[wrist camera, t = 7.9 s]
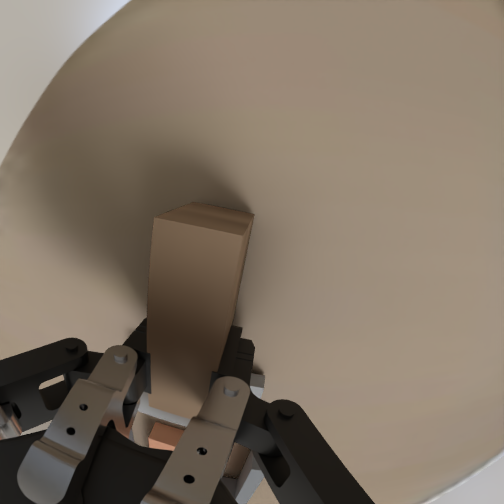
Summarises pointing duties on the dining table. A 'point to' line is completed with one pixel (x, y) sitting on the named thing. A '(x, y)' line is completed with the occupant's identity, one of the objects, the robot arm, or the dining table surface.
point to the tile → (164, 437)
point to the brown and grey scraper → (192, 305)
